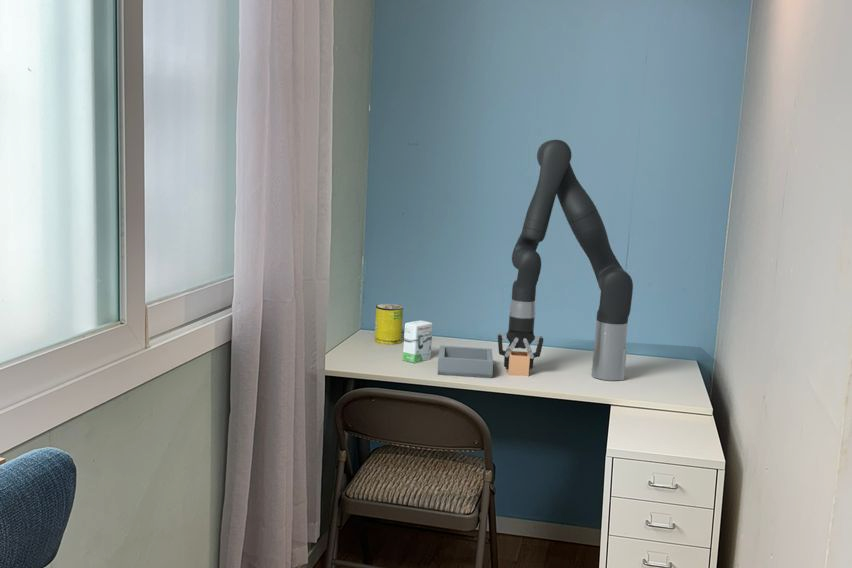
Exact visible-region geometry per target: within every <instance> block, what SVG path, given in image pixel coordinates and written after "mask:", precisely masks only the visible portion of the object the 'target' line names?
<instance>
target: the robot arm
mask: <svg viewBox="0 0 852 568" xmlns="http://www.w3.org/2000/svg"><path fill="white" fill-rule="evenodd" d="M536 160H537V162H538V165H539V166H540V170H539V176H538V180H537V185H536V188H535V191H534V193H533V195H532V198H531V200H530V203H529V205H528V208H527V211H526V214H525V218H524V221H523V226H522V229H521V232H520V234H519V237H518V239H517V241H516V243H515V246H514V248H513V251H512V254H511V263H512V265H513V267H514V268H515V269H516V270H518V271H517V276H516V280H514V281H513V283H512V287H511V288H512V289H511V291H512V292H511V301H510V305H509V316H508V327H507V328H508V331H507V332H506V333H502V334H501V333H498V334H497V347H498V354H499V355H500V356H503V358H504V360H503V367H504V368H505V370H508V367H509V354H510V353H511V351H514V349H521V350H525V349H526V352H528V354H529V355H530V363H529V372H530V371H531V370H532V369H533V368H534V359H536V358H540V357H541V353H542V348H543V344H544V338H543V336H542V335H541V336H536V335H535V334H534V330H535V318H536V317H535V316H536V295H537V294H536V292H537V284H538V281H539V279H540V278H539V277H540V274H541V270H542V258H541V255H540V254H539V252H537V249H538V246H539V244H540V243H542V242H543V241H544V240H545V238H546V235H547V231H548V227H549V222H550V220H551V216H552V212H553V209H554V208H553V207H554V204H555V201H556V197H557V199H558V203H559V205H560V207H561V210H562V211H563V213H564V217H565V218H566V221H567V223H568V225H569V227H570V229H571V231H572V233H573V235H574V237H575V239H576V240H577V242H578V244H579V246H580V247H581V249H582V251H584V253H585V255H586V257H587V259H588V260H589V263H590V265H591V268H592V270H593V272H594V275H595V278H596V282H597V284H598V289H599V290H600V295H599V296H600V297H599V305H598V310H597V312H596V321H595V331H594V343H593V355H592V366H591V367H592V368H591V376H592V378H595V379H598V380H603V381H613V382H614V381H625V373H626V371H625V370H626V361H627V352H628V351H627V348H626V344H627V343H626V342H627V334H628V322H629V317H630V314H631V308H632V299H633V291H634V286H633V285H634V282H633V279H632V277H631V275H630V274H629V273H628V272H627V271H625V269H624V268H623V267H622V266H621V264H620V262H619V261H618V258H617V256H616V255H615V254H614V252H613V250H612V247H611V245H610V241H609V236H608V232H607V229H606V227H605V225H604V222H603V219H602V217H601V215H600V212H599V211H598V208H597V206H596V205H595V202H594V201H593V199H592V198H591V197H590V195H589V194H588V193H587V191H586V190H585V189H584V187H583V186H582V185H581V183H580V182H579V180H578V178H577V176H576V175H575V174H576V173H574V172H575V171H574V170H573V167H572V165H571V160H572V150H571V147H570V146H569V145H568V143H567V142H565V141H564V140H561V139H550V140H547V141H544V142H543V143H542V144H540V146H539V147H538V149H537V152H536ZM506 339H507V340H508V342H509V343H508V346H507V348H506V349H505V350H504V349H503V348H504V347H503V342H505V340H506ZM534 341H535V344H536V345H537V346H536V348H535V349H536V350H535V352H533V349H532V348H531V346H530V345H531V344H532V343H533V342H534Z"/></svg>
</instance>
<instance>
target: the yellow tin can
mask: <svg viewBox="0 0 852 568" xmlns="http://www.w3.org/2000/svg"><path fill="white" fill-rule="evenodd" d="M403 312H404V307H403V305H399V304H396V303H395V304H393V303H380V304H379V303H378V304H376V305H375V323H374V324H375V325H374V342H375V343H377V344H380V345H386V346H387V345H390V346H391V345H393V346H394V345H400V344H401V343H402V336H403V335H402V334H403V333H402V332H403V317H404V316H403V315H404V313H403Z"/></svg>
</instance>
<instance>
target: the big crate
mask: <svg viewBox="0 0 852 568" xmlns="http://www.w3.org/2000/svg"><path fill="white" fill-rule="evenodd" d="M437 359H438V361H437V376H438V375H439V376H449V377H450V376H452V377H465V378H467V377H469V378H484V379H492V378H493V371H494V370H493V369H494V368H493V367H494V358H493V349H492V348H486V347H468V346H452V345H440V346H439V352H438V358H437Z"/></svg>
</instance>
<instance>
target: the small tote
mask: <svg viewBox="0 0 852 568" xmlns="http://www.w3.org/2000/svg"><path fill="white" fill-rule="evenodd" d="M529 363H530V355H529V354H528V352H527V351H517V350H512V351H511V353H510V354H509V367H508V369H507V375H508V376H516V377H518V376H519V377H520V376H521V377H530V376H529V374H530V371H529Z"/></svg>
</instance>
